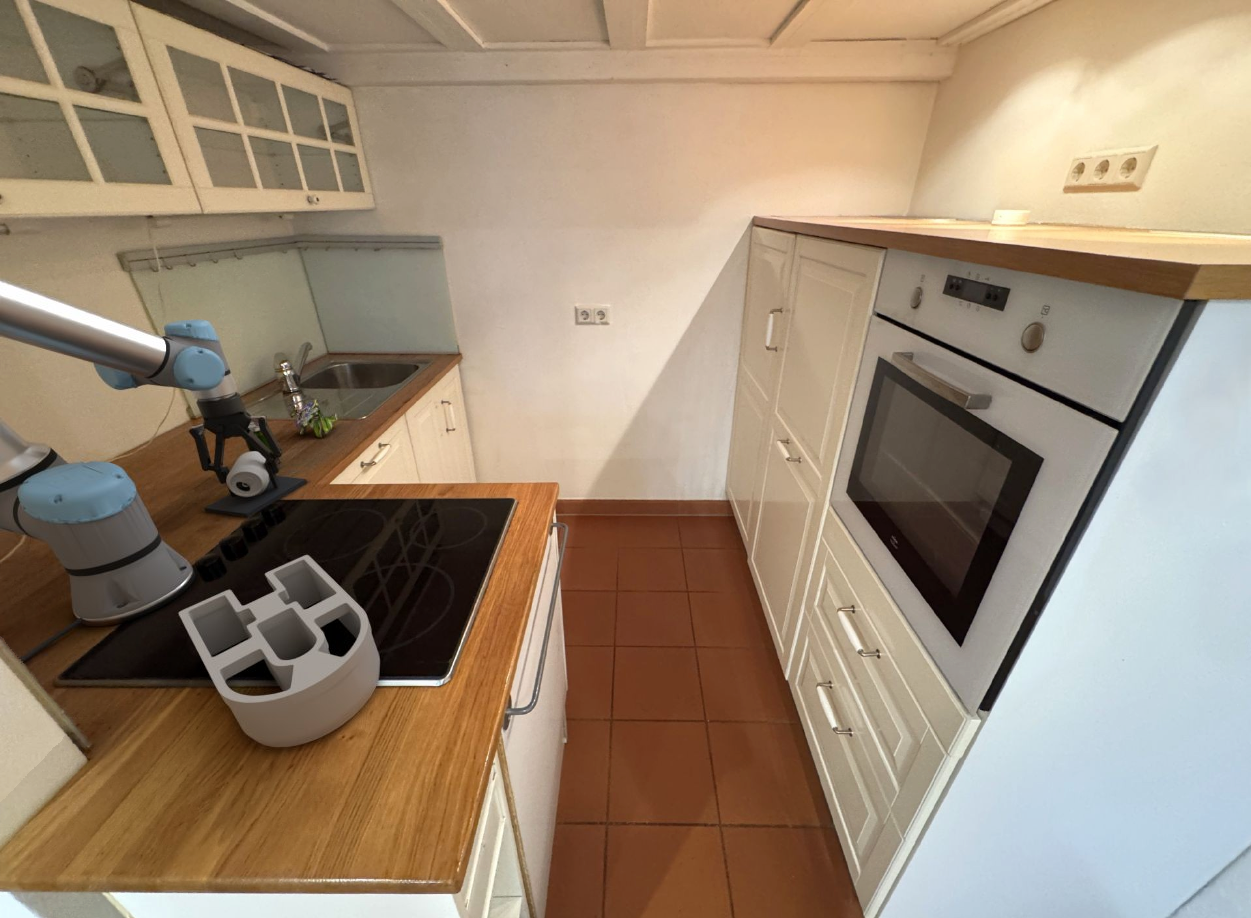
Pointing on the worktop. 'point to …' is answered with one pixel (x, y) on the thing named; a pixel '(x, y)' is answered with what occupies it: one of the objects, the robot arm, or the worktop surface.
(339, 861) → the worktop surface
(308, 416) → the purple flowering plant
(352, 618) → the desk organizer caddy
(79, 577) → the robot arm
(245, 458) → the can
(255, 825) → the worktop surface
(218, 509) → the mat
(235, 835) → the worktop surface
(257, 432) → the beer can
